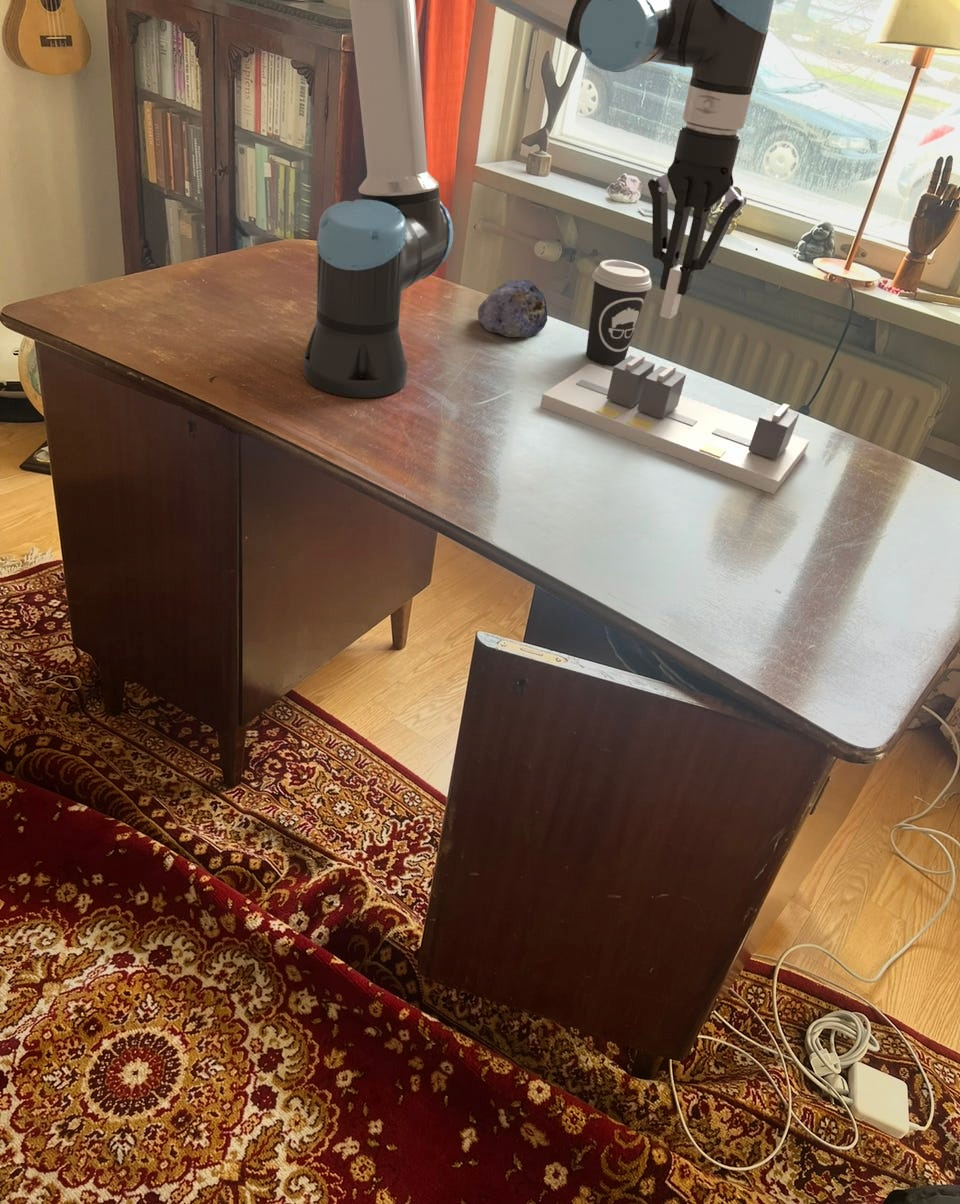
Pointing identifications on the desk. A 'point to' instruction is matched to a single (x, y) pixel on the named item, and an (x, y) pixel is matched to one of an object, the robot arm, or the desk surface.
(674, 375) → the slider
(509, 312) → the rock
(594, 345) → the coffee cup
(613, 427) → the console
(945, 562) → the desk surface
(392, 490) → the desk surface
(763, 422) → the slider
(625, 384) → the slider
